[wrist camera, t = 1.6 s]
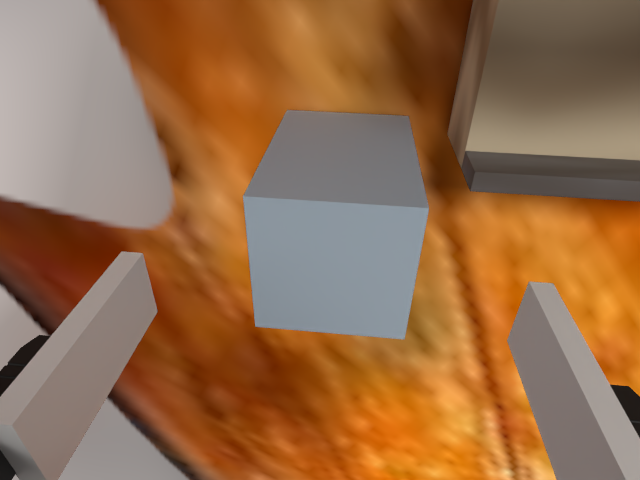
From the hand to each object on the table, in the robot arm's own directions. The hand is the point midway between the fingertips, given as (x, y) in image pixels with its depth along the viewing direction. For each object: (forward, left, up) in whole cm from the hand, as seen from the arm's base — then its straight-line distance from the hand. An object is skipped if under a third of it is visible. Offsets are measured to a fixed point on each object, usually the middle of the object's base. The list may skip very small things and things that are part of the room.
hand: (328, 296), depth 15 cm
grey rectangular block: (0, 0, -10) cm, 10 cm away
